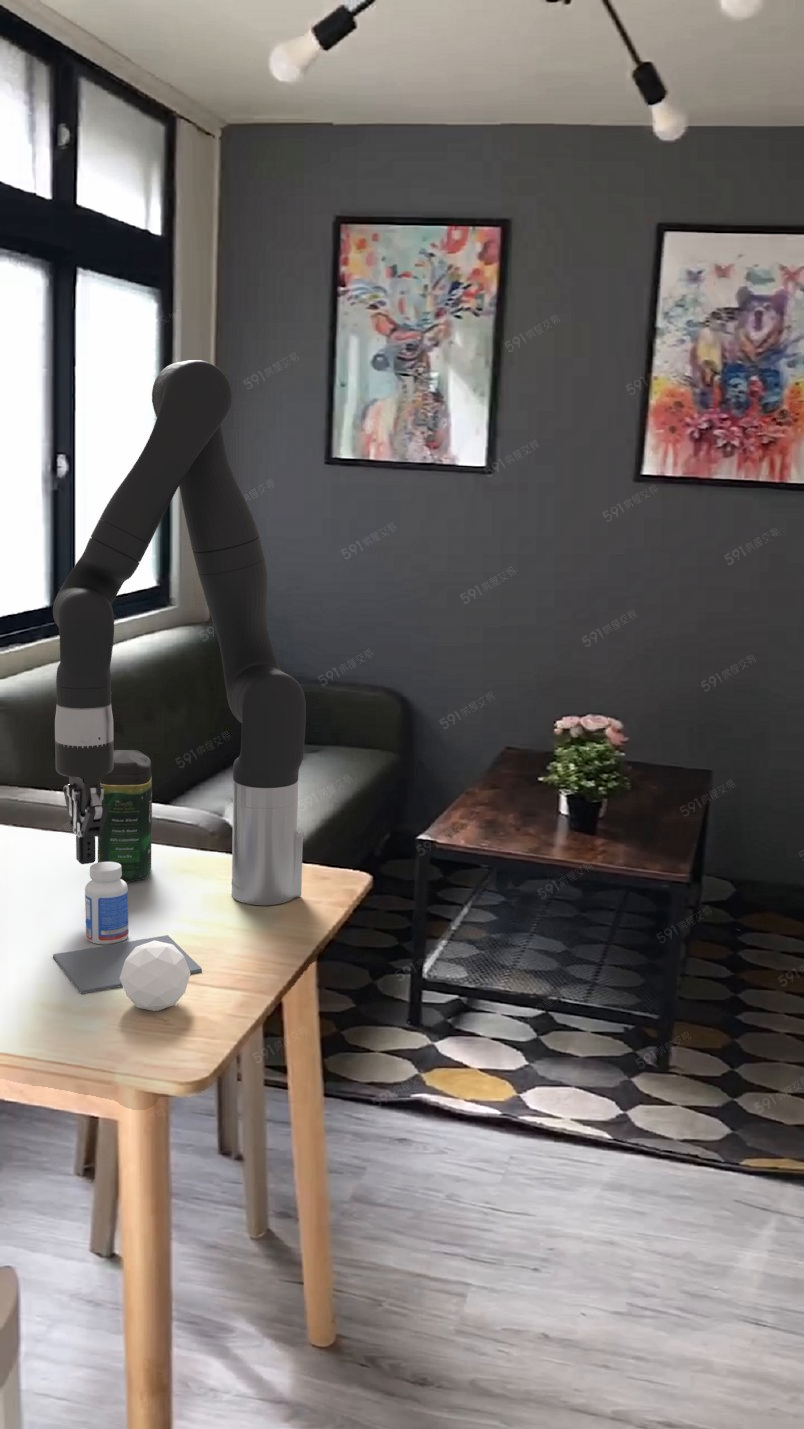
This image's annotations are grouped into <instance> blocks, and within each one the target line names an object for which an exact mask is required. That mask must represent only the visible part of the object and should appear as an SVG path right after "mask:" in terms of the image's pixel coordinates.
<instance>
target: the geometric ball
mask: <svg viewBox="0 0 804 1429" xmlns="http://www.w3.org/2000/svg"><path fill="white" fill-rule="evenodd" d="M190 976H191V974H190V971H189V968H188V965H187V963H186V960H185V957H184V956H183V955H182V954H181V953H180V951H179V950H178V949H177V948H176V947H175V946H174V945H173V944H168V943H164V942H159V941H155V940H154V941H151V942H148V943H145V944H142V945H140V946H137V947H135V948H134V950H133V951H132V952H131V953H130V955H129V956H128V957H127V958H126V960H125V963H124V966H123V969H122V972H121V975H120V981H121V983H122V985H123V986H122V987H123V990H124V992H125V994H126V997H128V999H129V1000H130V1001H131V1002H132V1003H133V1005H134V1006H135V1007H136V1008H138V1009H141V1010H142V1009H143V1010H148V1011H152V1012H158V1011H161V1010H164V1009H166V1008H167V1009H168V1008H169V1007H171V1006H175V1005H176V1004H177V1002H179V1000H180V999H181V998H182V997H183V995H184V994H186V990H187V987H188V984H189V980H190Z"/></svg>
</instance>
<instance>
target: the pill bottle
mask: <svg viewBox="0 0 804 1429" xmlns="http://www.w3.org/2000/svg"><path fill="white" fill-rule="evenodd" d="M89 876H90V879H91V880H90V881H88V882H87V883H86V885H85V887H84V901H85V933H86V935H85V936H86V938H87V940H88V941H89V942H91V943H94V944H96V945H111V944H117V943H122V942H123V941H124V940H126V939H127V938H128V937H129V896H128V895H129V892H128V891H129V890H128V888H129V886H128V883H126V882H125V881H123V880H122V879H120V878H121V876H122V868H121V865H120V864H119V863H116V862H99V863H98V862H96V863H95V862H94V863H92V864H91V865H90V867H89Z"/></svg>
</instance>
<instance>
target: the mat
mask: <svg viewBox="0 0 804 1429" xmlns="http://www.w3.org/2000/svg"><path fill="white" fill-rule="evenodd" d="M154 940H155V941H159V942H164V943H168V944H173V945H174V946H175V947H176V948H177V949H178V950H179V951H180V953H181V954H182V955H183V956H184V957H185V960H186V963H187V965H188V968H189V971H190V975H191V974H197V973H201V972H203V968H202V967H201V966H200V965H199V964H198V963H197V962H196V961H195V960H194V959H193V958H192V957H191V956H190V955H189V954H187V952H186V951H185V950H183V949H182V947H180V946H179V944H177V943H176V942H175V941H174V939H173V938H172V937H171V936H169V935H168V934H166V935H165V934H164V935H160V936H155V937H154V936H153V937H149V938H142V939H136V940H131V941H124V942H123V941H122V942H118V943H113V944H104V945H101V946H95V947H88V948H82V949H77V950H70V951H65V952H59V953H53V954H52V956H53V959H54V960H55V962H56V963H57V964H58V966H59V967H60V968H61V969H62V971H63V973H64V974H65V975H66V976H67V977H68V979H69V980H70V982H71V983H72V984H73V985H74V987H75V988H76V990H78V992H79V993H80V995H83V994H88V993H93V992H99V991H105V990H111V989H115V988H120V987H121V988H122V987H123V985H122V983H121V981H120V975H121V972H122V969H123V966H124V963H125V960H126V958H127V957H128V956H129V955H130V953H131V952H132V951H133V950H134V948H135V947H137V946H140V945H142V944H145V943H148V942H151V941H154Z"/></svg>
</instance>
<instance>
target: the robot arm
mask: <svg viewBox="0 0 804 1429" xmlns="http://www.w3.org/2000/svg"><path fill="white" fill-rule="evenodd" d="M232 392H233V391H232V386H231V384H230V380H229V379H228V376H226V374H225V373H224V372H223V370H222V369H220V368H219V367H218V366H216V365H215V364H213V363H211V362H209V361H206V360H200V359H199V360H198V359H197V360H196V359H195V360H194V359H193V360H191V359H189V360H183V361H178V362H174V363H171V364H169V365H167V366H166V367H165V368H163V369H162V370H160V372H159V373H158V375H157V376H156V378H155V380H154V382H153V386H152V389H151V403H152V408H153V411H154V414H155V417H156V420H155V422H154V426H153V428H152V431H151V433H150V435H149V437H148V440H147V442H146V444H145V445H144V448H143V449H142V451H141V453H140V454H139V457H138V458H137V460H136V462H135V463H134V464H133V466H132V468H131V469H130V470H129V472H128V473H127V475H125V477H124V479H123V481H121V483H120V484H119V486H118V487H117V489H116V490H115V492H114V494H113V495H112V496H111V498H110V499H109V501H108V503H107V504H106V506H105V508H104V509H103V512H102V514H101V515H100V517H99V519H98V521H97V523H96V525H95V527H94V529H93V531H92V533H91V535H90V538H89V540H88V542H87V544H86V547H85V549H84V551H83V553H82V555H81V556H80V558H79V559H78V560H77V562H76V563H75V565H74V566H73V568H72V569H71V571H70V573H69V574H68V575H67V577H66V579H65V580H64V582H63V583H62V586H61V587H60V588H59V590H58V593H57V595H56V597H55V599H54V602H53V607H52V616H53V620H54V622H55V624H56V626H57V627H58V632H59V664H58V665H57V669H56V682H55V687H56V709H55V718H54V746H55V747H54V748H55V749H54V752H55V754H54V755H55V771H56V772H57V774H59V775H61V776H63V777H68V783H69V784H66V785H64V786H63V789H62V791H63V794H64V800H65V805H66V810H67V815H68V820H69V824H70V827H71V828H72V827H73V828H72V832H73V834H74V835H75V848H76V850H75V852H76V853H75V856H76V857H75V859H76V860H77V862H78V863H79V864H80V865H88V864H94V863H95V862H96V837H98V835H101V833H102V830H103V827H104V824H105V820H106V817H107V814H108V806H107V805H102V800H103V798H104V790H103V787H102V786H101V784H100V778H101V777H102V776H103V775H107V774H109V773H110V772H112V770H113V768H114V750H115V749H114V716H113V711H112V710H113V709H112V708H113V707H112V676H111V662H112V657H113V656H112V655H113V649H114V639H115V638H114V637H115V636H114V635H115V615H114V610H113V606H112V605H113V603H114V601H115V599H116V597H117V596H118V593H119V592H120V590H121V589H122V585H123V584H124V583H125V582H126V581H128V580H129V579H130V578H131V577H132V576H133V575H134V574H135V572H136V570H137V569H138V567H139V565H140V563H141V561H142V559H143V557H144V556H145V554H146V551H147V550H148V547H149V546H150V543H151V542H152V540H153V537H154V536H155V533H156V532H157V530H158V527H159V525H160V523H161V521H162V519H163V517H164V516H165V513H166V512H167V510H168V508H169V505H170V504H171V501H172V500H173V498H174V496H175V494H176V492H177V490H178V489H179V491H180V498H181V503H182V509H183V514H184V518H185V522H186V527H187V528H186V529H187V532H188V535H189V536H188V537H189V543H190V546H191V551H192V554H193V558H194V561H195V566H196V570H197V573H198V578H199V580H200V581H199V582H200V584H201V587H202V591H203V595H204V598H205V602H206V604H207V607H208V612H209V615H210V618H211V621H212V624H213V627H214V630H215V632H216V636H217V639H218V640H217V641H218V645H219V650H220V657H221V663H222V669H223V677H224V685H225V692H226V698H227V703H228V706H229V709H230V711H231V713H232V715H233V716H234V718H235V719H236V720H237V721H238V722H239V723H241V740H240V741H241V742H240V753H239V756H238V757H237V758H236V759H234V762H233V767H232V779H233V780H232V838H231V841H232V847H231V848H232V851H231V852H232V853H231V856H232V858H231V896H232V897H233V899H235V900H236V901H238V902H241V903H244V904H248V905H253V906H273V905H279V904H284V903H287V902H291V900H293V899H295V898H298V897H301V896H302V882H303V881H302V880H303V879H302V876H303V841H304V840H303V838H304V837H303V833H302V831H300V830H298V815H299V814H298V811H299V810H298V809H299V808H298V807H299V805H298V804H299V803H298V802H299V801H298V800H299V773H300V768H301V765H302V764H303V760H304V755H305V754H304V753H305V738H306V723H307V721H306V720H307V719H306V718H307V708H306V707H307V704H306V702H307V701H306V697H305V692H304V690H303V688H302V686H301V684H300V683H299V682H298V680H297V679H295V678H294V677H293V676H291V675H290V674H287V673H285V671H282V670H281V668H280V665H279V663H278V659H277V658H276V655H275V651H274V647H273V644H272V640H271V637H270V633H269V628H268V624H267V623H268V622H267V620H268V619H267V618H268V617H267V606H268V605H267V604H268V572H267V565H266V564H267V563H266V559H265V554H264V550H263V546H262V542H261V538H260V534H259V530H258V527H257V524H256V520H255V518H254V515H253V514H252V511H251V508H250V506H249V504H248V502H247V500H246V497H245V495H244V493H243V491H242V489H241V487H240V485H239V484H238V481H237V480H236V478H235V476H234V473H233V471H232V470H233V469H232V467H231V466H230V463H229V459H228V456H227V451H226V446H225V441H224V435H223V430H222V424H223V422H224V421H225V419H226V418H227V416H228V415H229V414H230V411H231V408H232V403H233V393H232Z"/></svg>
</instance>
